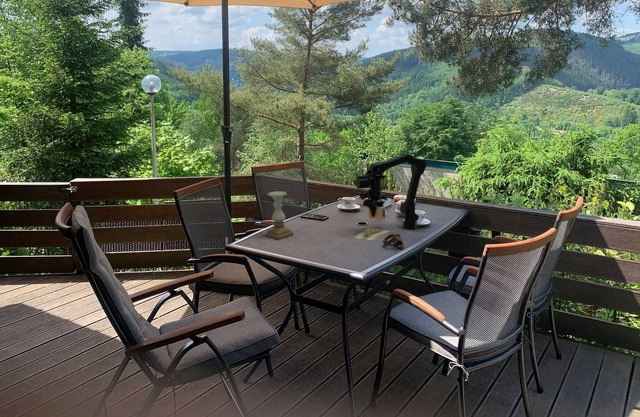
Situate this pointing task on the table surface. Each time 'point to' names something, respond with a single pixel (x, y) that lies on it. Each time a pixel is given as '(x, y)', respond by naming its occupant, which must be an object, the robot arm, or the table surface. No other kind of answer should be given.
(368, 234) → the copper post
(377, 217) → the tan wooden cube
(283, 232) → the candle holder
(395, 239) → the brown striped lump
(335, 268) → the table surface
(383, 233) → the birch board
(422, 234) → the table surface
